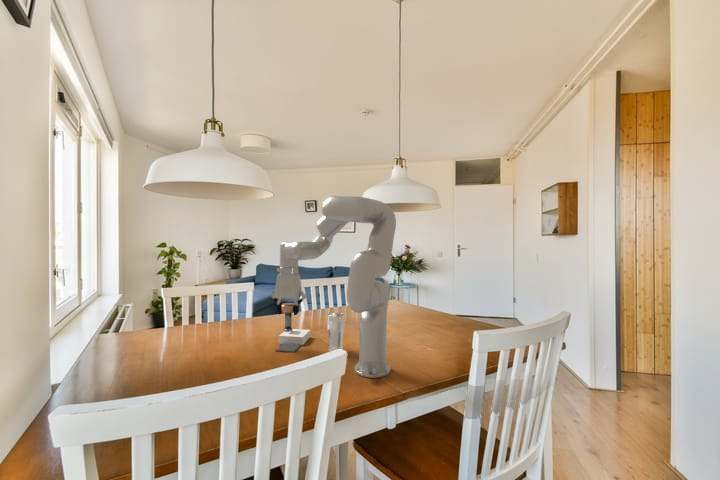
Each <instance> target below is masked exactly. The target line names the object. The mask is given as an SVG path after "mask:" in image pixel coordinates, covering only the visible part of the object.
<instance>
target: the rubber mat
mask: <svg viewBox="0 0 720 480" xmlns="http://www.w3.org/2000/svg"><path fill="white" fill-rule="evenodd" d="M301 346H302V345H300V344H280V345H279V346H278V347H277V348H276V349H275V352H277V353H279V352H280V353H291V354H292V353H296V352H297V351H298V349H299V348H301Z"/></svg>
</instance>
